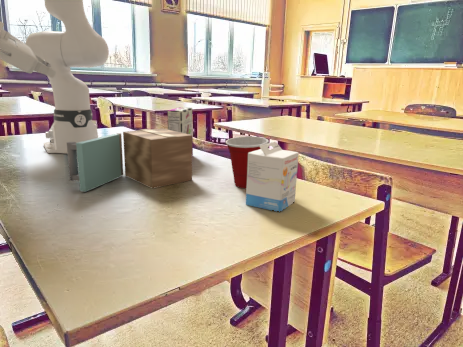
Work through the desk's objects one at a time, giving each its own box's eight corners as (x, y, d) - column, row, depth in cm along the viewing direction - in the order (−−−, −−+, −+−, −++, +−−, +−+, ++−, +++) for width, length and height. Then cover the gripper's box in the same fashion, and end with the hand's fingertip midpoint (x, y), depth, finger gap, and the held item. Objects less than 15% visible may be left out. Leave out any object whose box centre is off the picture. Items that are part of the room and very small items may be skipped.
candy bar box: (179, 154, 125) (179, 106, 120) (193, 155, 124) (193, 107, 120) (167, 161, 114) (166, 109, 110) (182, 163, 113) (182, 110, 109)
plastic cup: (216, 182, 94) (217, 137, 91) (249, 177, 100) (251, 134, 97) (240, 194, 85) (242, 144, 82) (274, 187, 91) (278, 141, 88)
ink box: (279, 213, 75) (284, 150, 71) (244, 204, 79) (247, 144, 75) (295, 201, 82) (300, 143, 78) (262, 194, 86) (265, 139, 82)
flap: (105, 172, 99) (103, 131, 96) (124, 174, 97) (122, 133, 94) (64, 188, 84) (59, 141, 81) (85, 191, 83) (81, 143, 80)
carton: (125, 175, 98) (123, 131, 94) (163, 169, 106) (162, 127, 102) (152, 188, 88) (151, 138, 84) (192, 179, 96) (192, 134, 92)
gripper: (-8, 28, 68) (64, 66, 77) (-7, 20, 84) (52, 53, 93) (-22, 57, 69) (51, 92, 78) (-19, 44, 85) (41, 74, 93)
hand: (52, 70), depth 85 cm, fingers open, 8 cm apart
